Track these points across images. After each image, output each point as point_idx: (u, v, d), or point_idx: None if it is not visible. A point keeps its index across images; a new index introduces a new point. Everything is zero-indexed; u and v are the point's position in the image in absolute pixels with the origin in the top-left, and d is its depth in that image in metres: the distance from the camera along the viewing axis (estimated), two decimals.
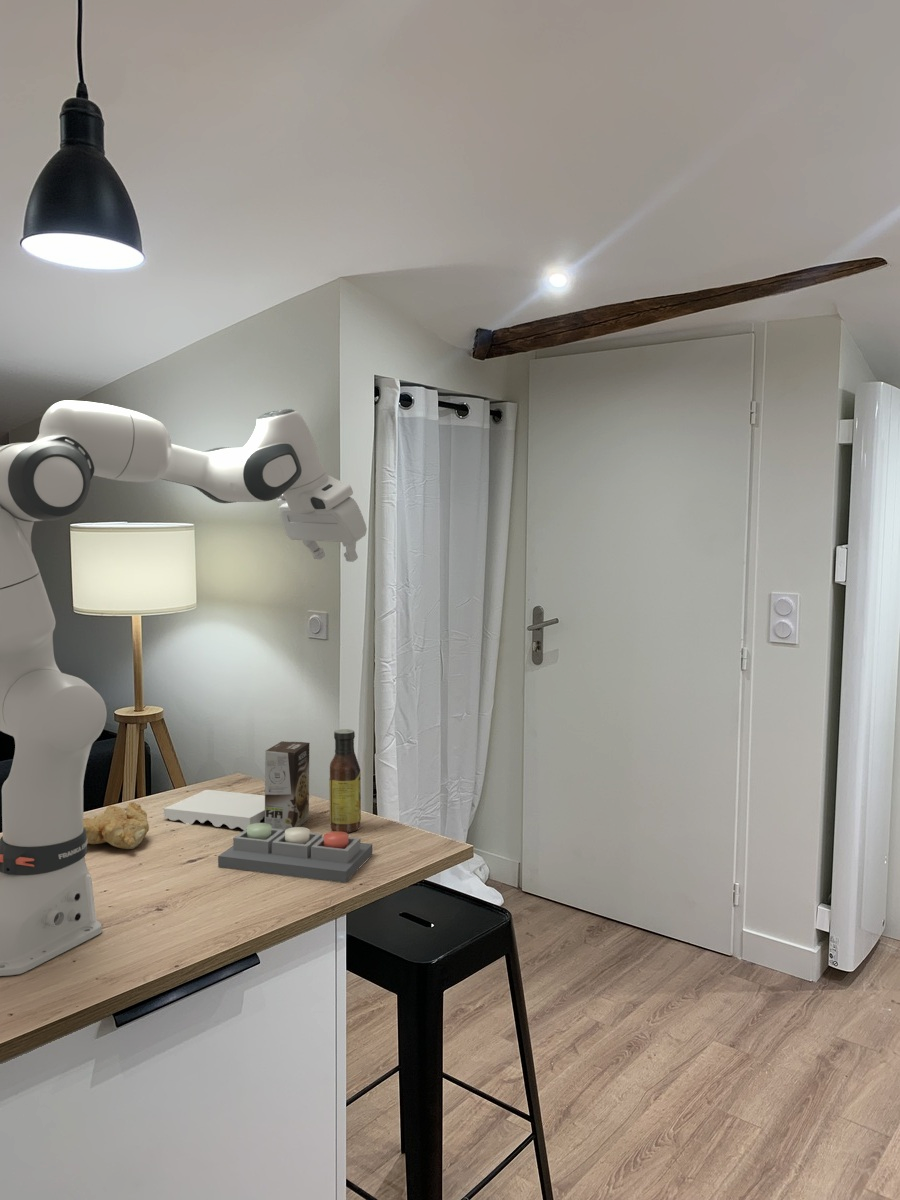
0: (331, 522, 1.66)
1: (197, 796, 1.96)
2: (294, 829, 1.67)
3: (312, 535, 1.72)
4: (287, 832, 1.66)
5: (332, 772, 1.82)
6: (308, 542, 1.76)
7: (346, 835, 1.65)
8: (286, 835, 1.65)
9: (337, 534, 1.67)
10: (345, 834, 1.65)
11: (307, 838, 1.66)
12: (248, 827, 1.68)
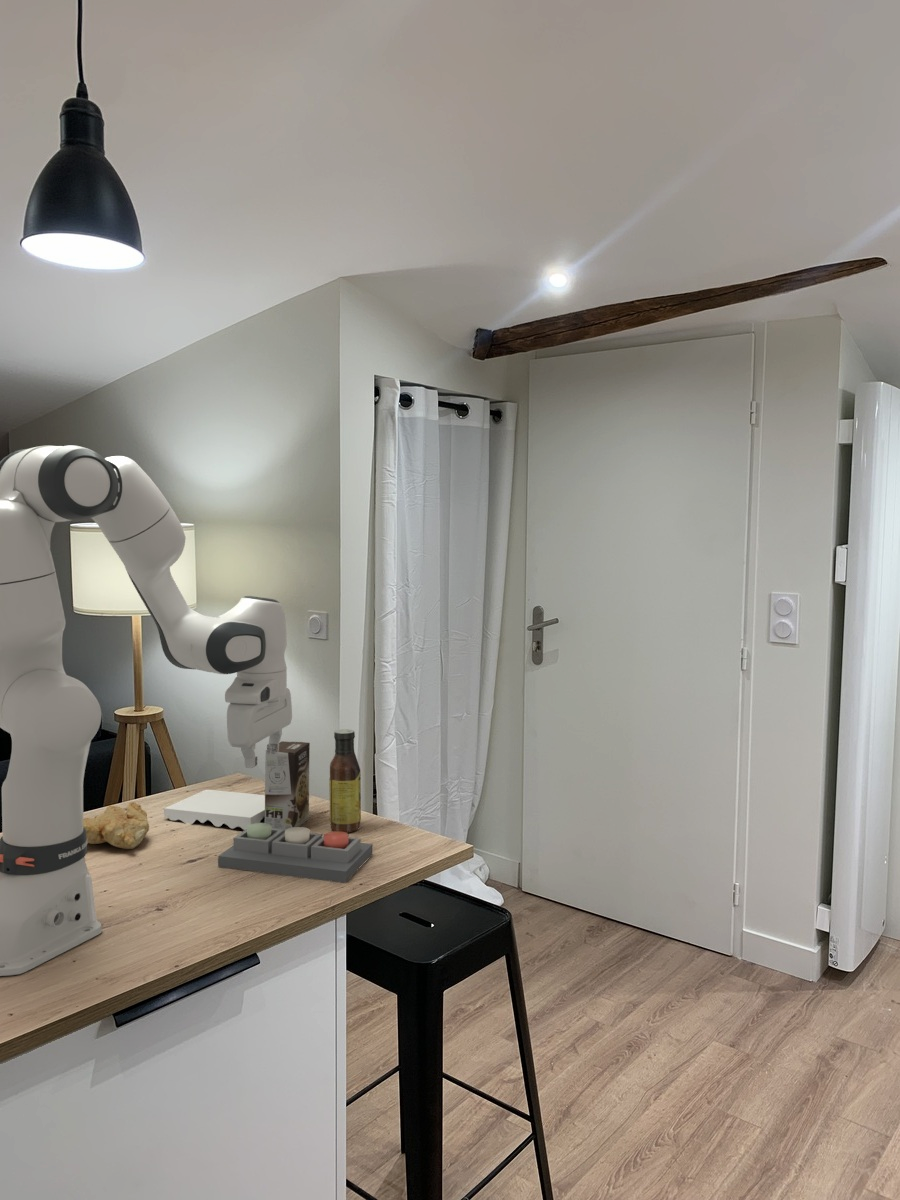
0: None
1: (197, 796, 1.96)
2: (294, 829, 1.67)
3: None
4: (287, 832, 1.66)
5: (332, 772, 1.82)
6: None
7: (346, 835, 1.65)
8: (286, 835, 1.65)
9: None
10: (345, 834, 1.65)
11: (307, 838, 1.66)
12: (248, 827, 1.68)
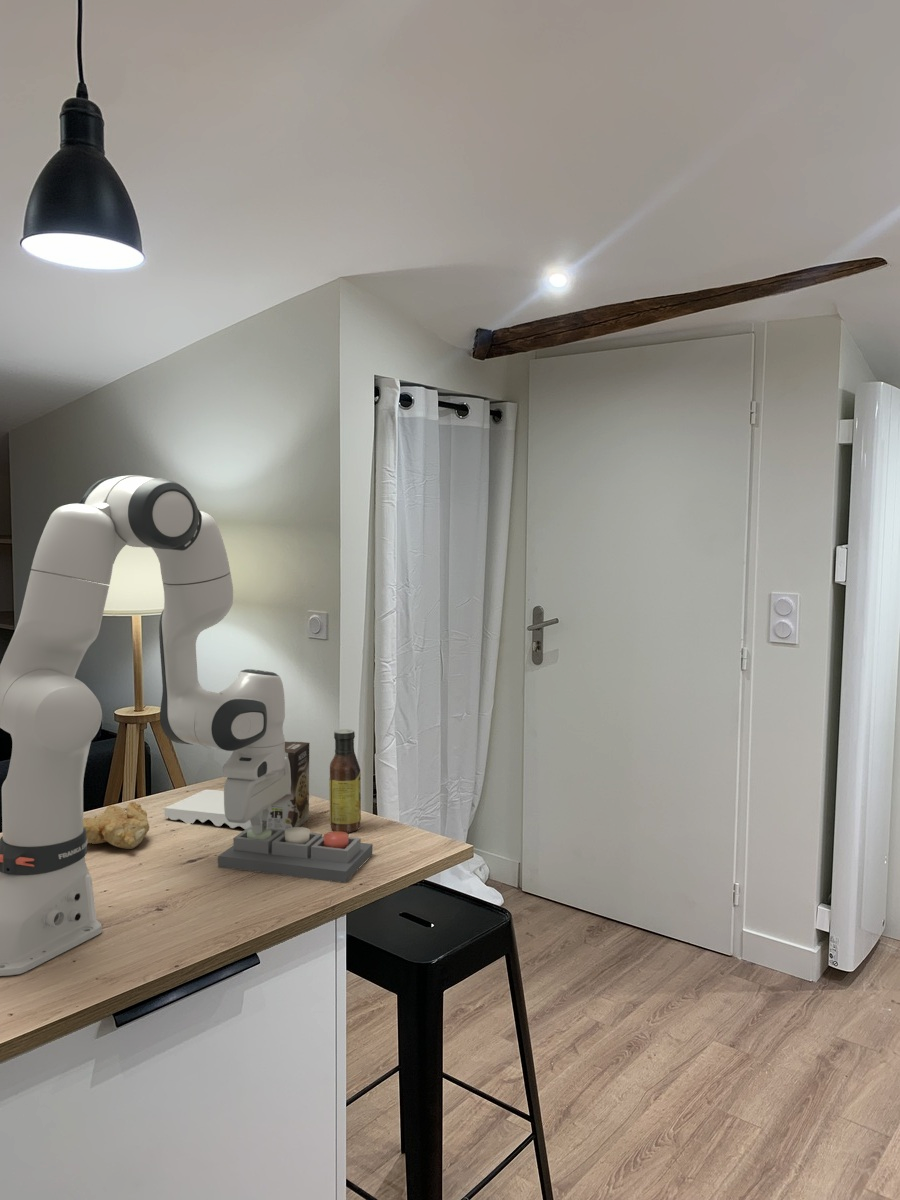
0: None
1: (197, 796, 1.96)
2: (294, 829, 1.67)
3: None
4: (287, 832, 1.66)
5: (332, 772, 1.82)
6: None
7: (346, 835, 1.65)
8: (286, 835, 1.65)
9: None
10: (345, 834, 1.65)
11: (307, 838, 1.66)
12: (248, 832, 1.68)
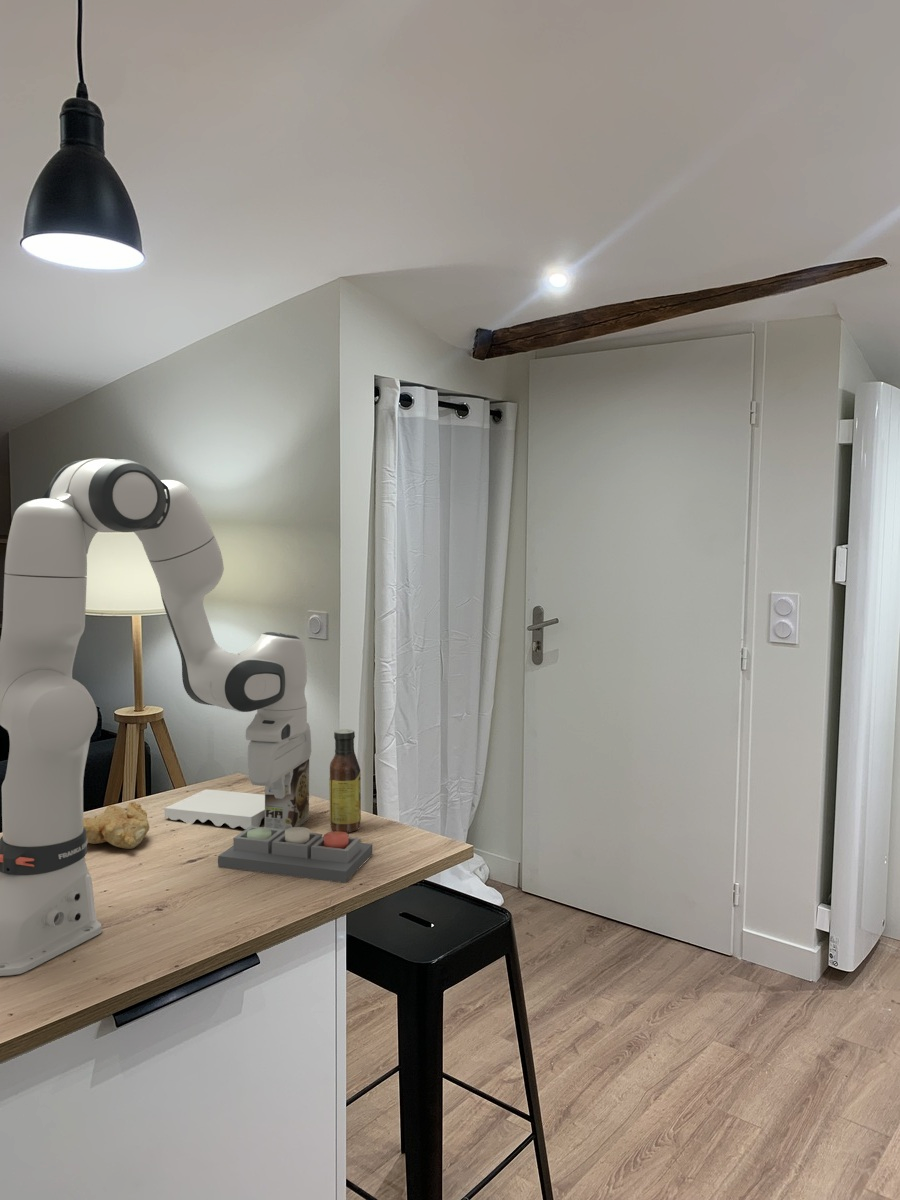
0: None
1: (197, 796, 1.96)
2: (294, 829, 1.67)
3: None
4: (287, 832, 1.66)
5: (332, 772, 1.82)
6: None
7: (346, 835, 1.65)
8: (286, 835, 1.65)
9: None
10: (345, 834, 1.65)
11: (307, 838, 1.66)
12: (248, 832, 1.68)
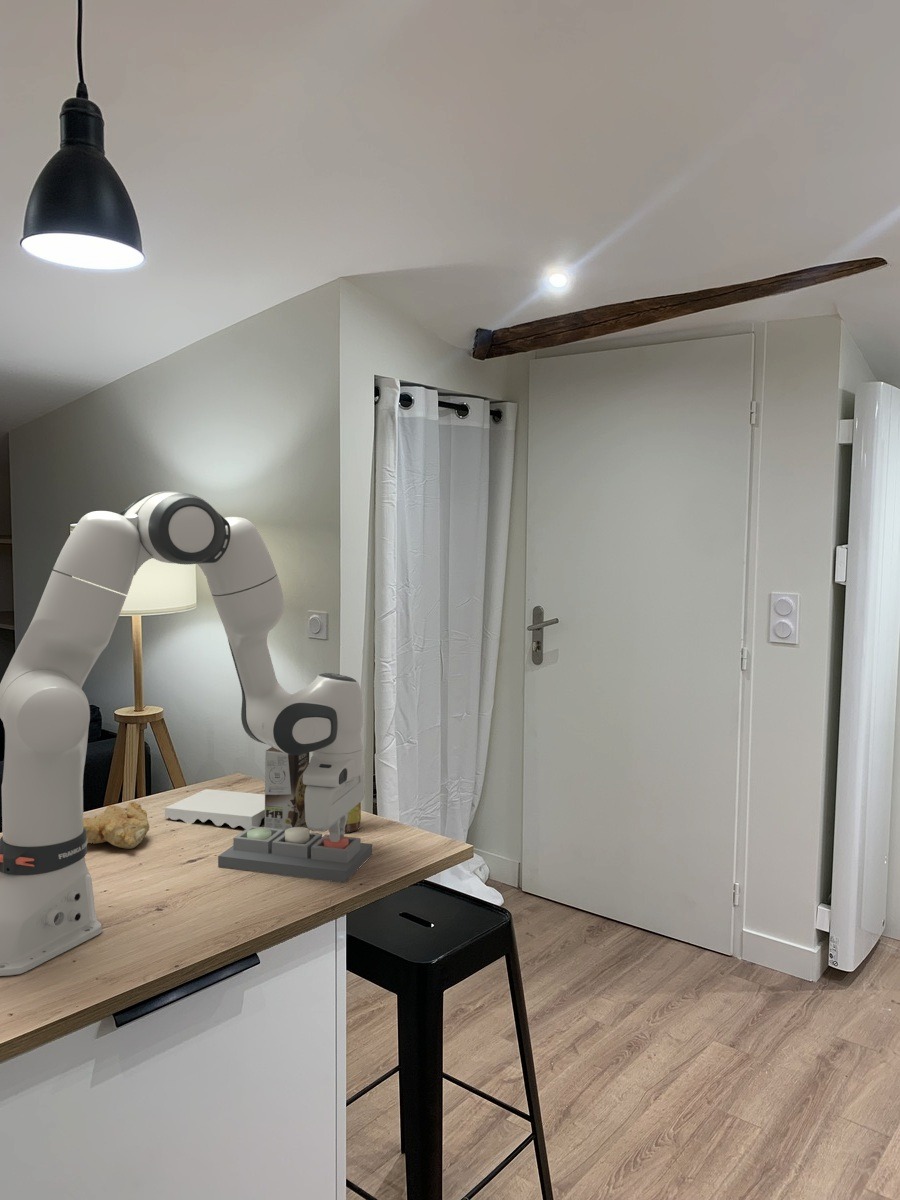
0: None
1: (197, 795, 1.96)
2: (294, 829, 1.67)
3: None
4: (287, 832, 1.66)
5: None
6: None
7: (346, 840, 1.65)
8: (286, 835, 1.65)
9: None
10: (345, 839, 1.65)
11: (307, 838, 1.66)
12: (248, 832, 1.68)
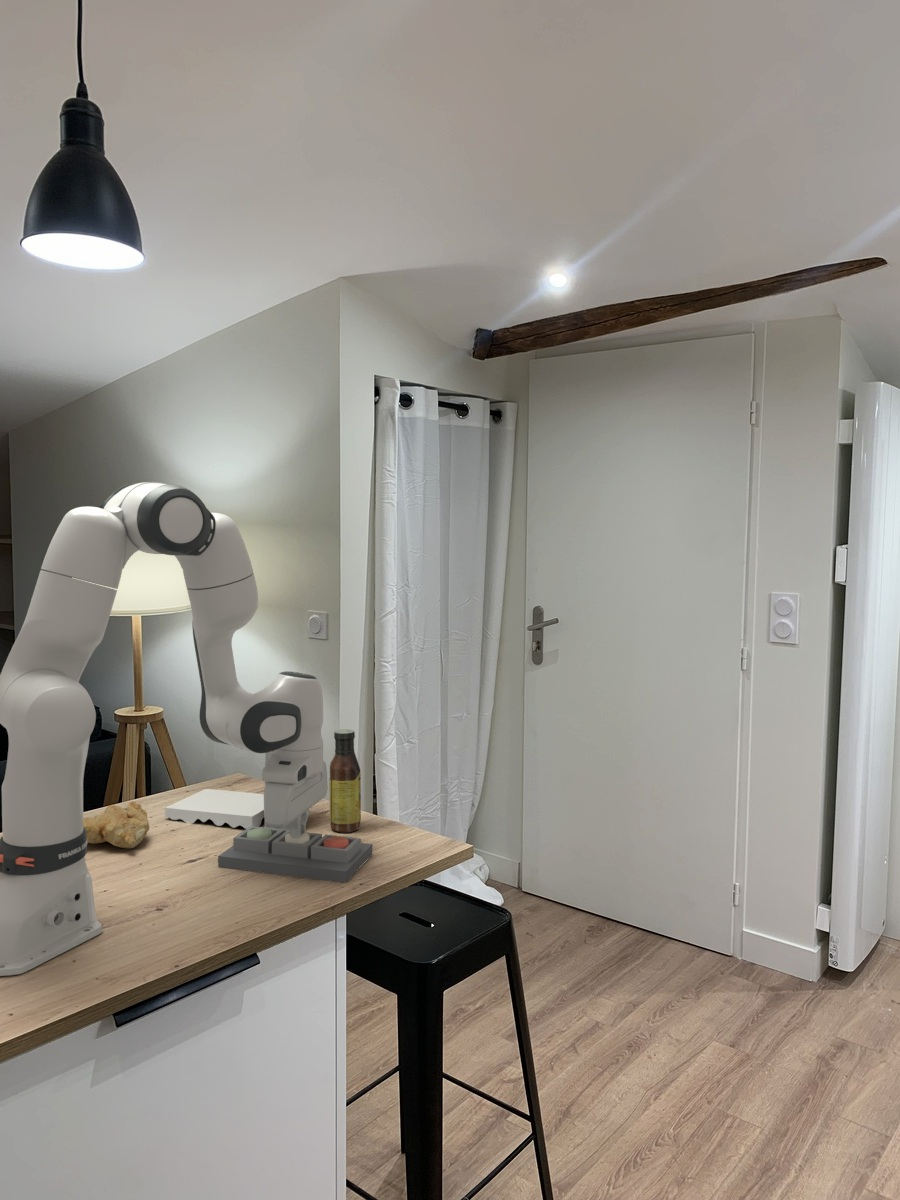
0: None
1: (197, 795, 1.96)
2: None
3: None
4: (287, 837, 1.66)
5: (332, 772, 1.82)
6: None
7: (346, 840, 1.65)
8: (286, 840, 1.65)
9: None
10: (345, 839, 1.65)
11: None
12: (248, 832, 1.68)
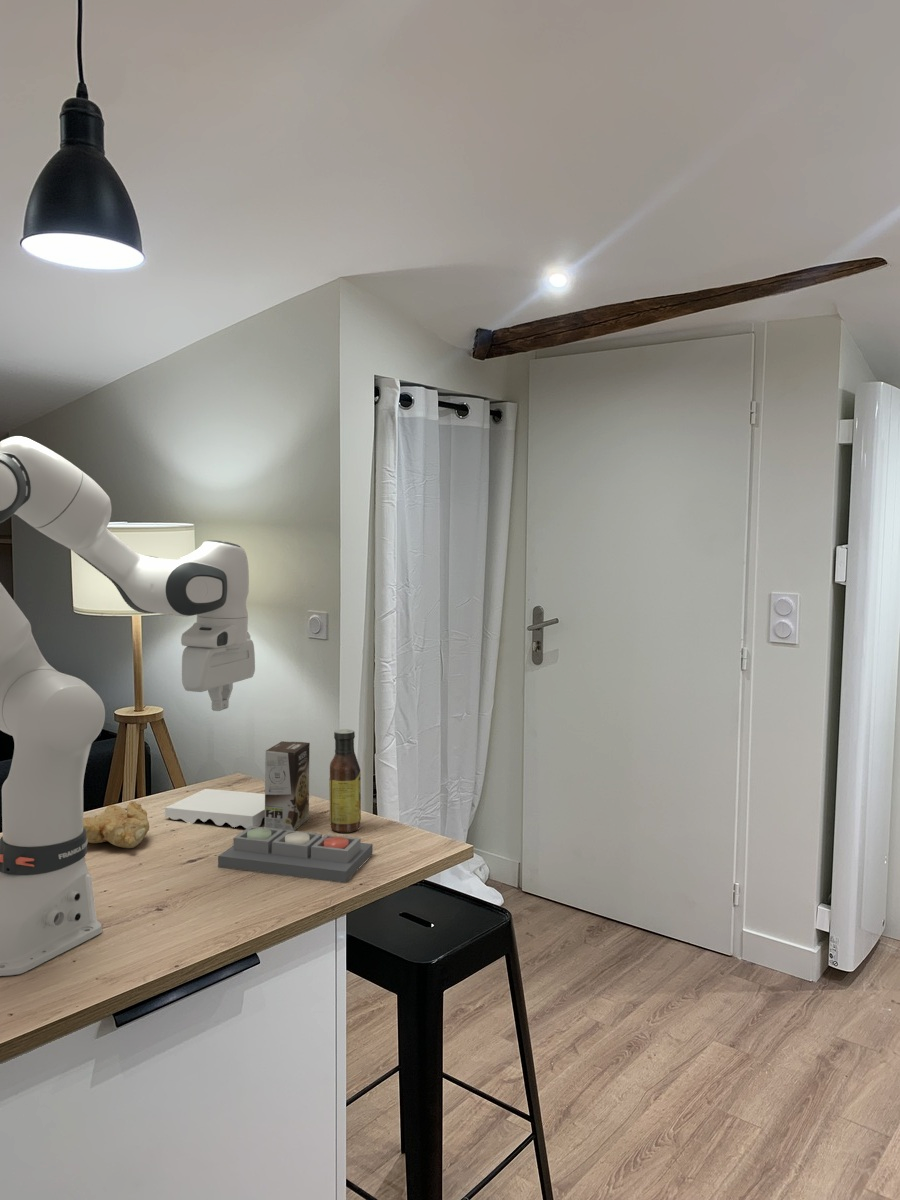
0: None
1: (197, 795, 1.96)
2: (294, 835, 1.67)
3: None
4: (287, 837, 1.66)
5: (332, 772, 1.82)
6: None
7: (346, 840, 1.65)
8: (286, 840, 1.65)
9: None
10: (345, 839, 1.65)
11: None
12: (248, 832, 1.68)
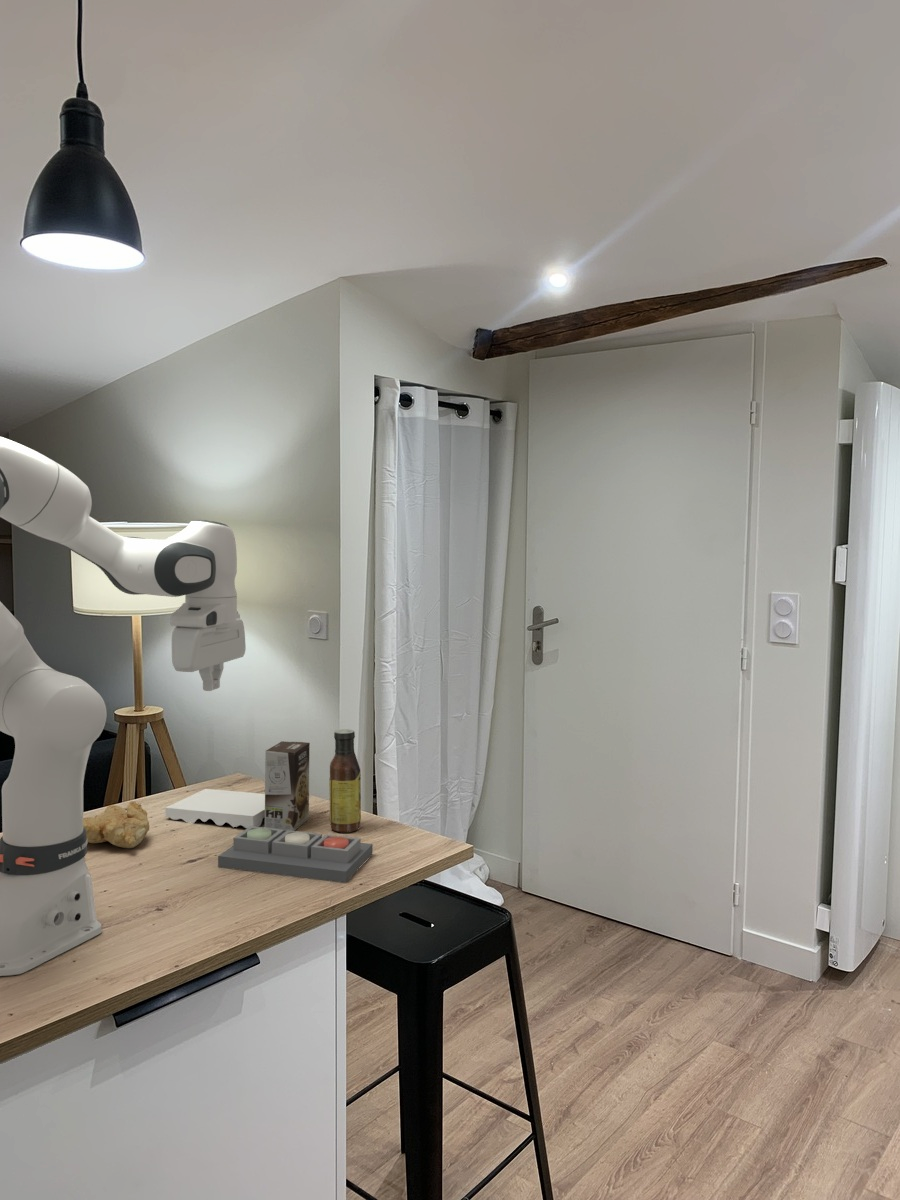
0: None
1: (197, 795, 1.96)
2: (294, 835, 1.67)
3: None
4: (287, 837, 1.66)
5: (332, 772, 1.82)
6: None
7: (346, 840, 1.65)
8: (286, 840, 1.65)
9: None
10: (345, 839, 1.65)
11: None
12: (248, 832, 1.68)
